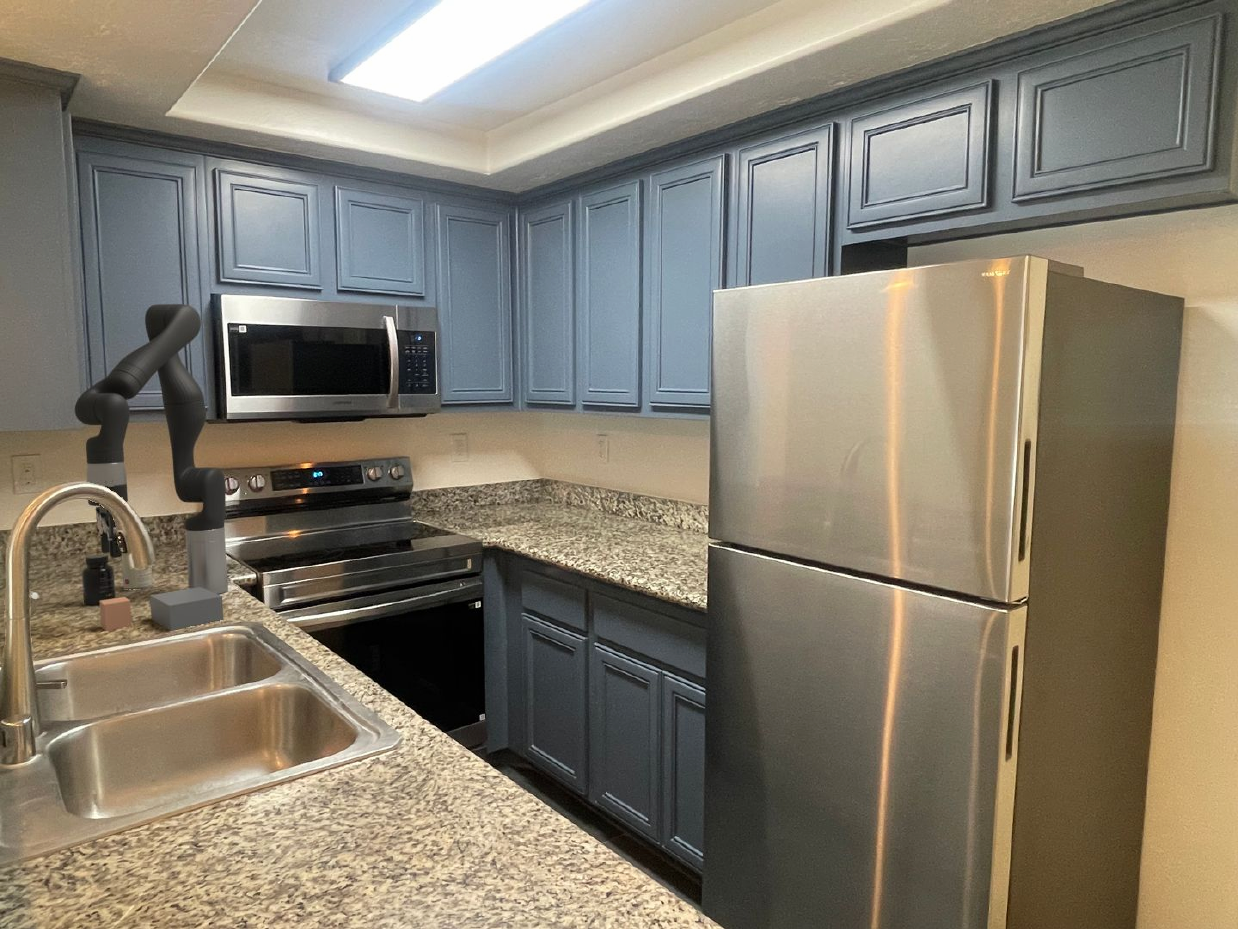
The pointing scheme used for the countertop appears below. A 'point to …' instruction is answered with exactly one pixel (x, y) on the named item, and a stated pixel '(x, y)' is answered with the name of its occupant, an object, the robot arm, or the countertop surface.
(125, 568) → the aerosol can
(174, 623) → the charcoal storage box
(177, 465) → the robot arm
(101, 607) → the terracotta block
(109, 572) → the supplement bottle
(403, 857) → the countertop surface
